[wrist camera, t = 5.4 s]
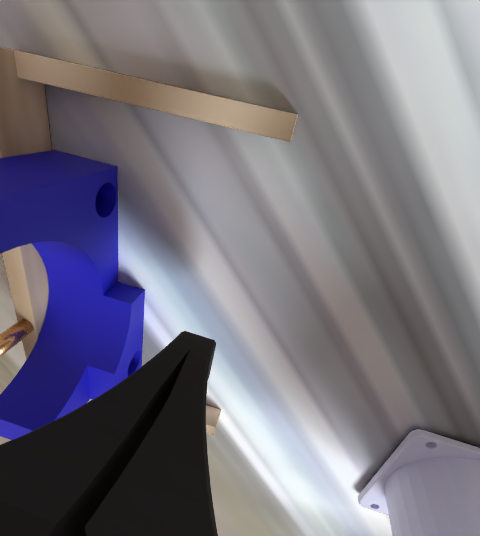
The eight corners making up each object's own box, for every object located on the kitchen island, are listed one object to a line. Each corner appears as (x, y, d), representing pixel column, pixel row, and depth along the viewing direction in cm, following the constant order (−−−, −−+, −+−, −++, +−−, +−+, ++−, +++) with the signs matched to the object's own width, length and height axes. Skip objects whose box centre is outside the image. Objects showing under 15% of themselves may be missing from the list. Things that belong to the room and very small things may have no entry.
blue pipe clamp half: (142, 365, 19) (77, 464, 14) (77, 344, 19) (-10, 432, 14) (151, 174, 13) (41, 217, 8) (56, 149, 13) (-110, 175, 8)
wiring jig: (298, 114, 10) (289, 116, 7) (218, 417, 19) (195, 493, 15) (17, 50, 11) (-131, 19, 8) (63, 365, 20) (5, 425, 16)
